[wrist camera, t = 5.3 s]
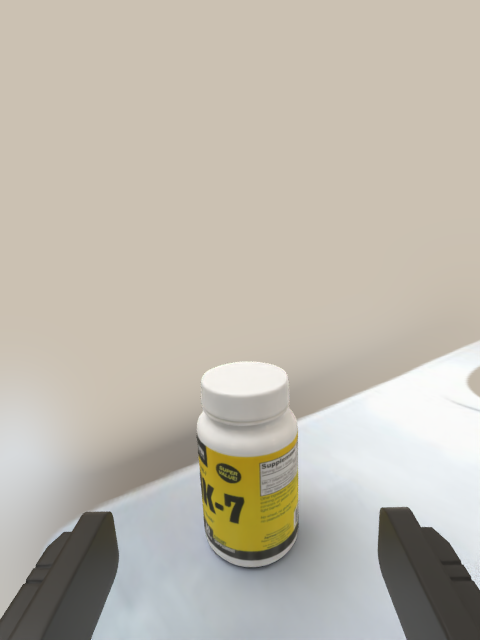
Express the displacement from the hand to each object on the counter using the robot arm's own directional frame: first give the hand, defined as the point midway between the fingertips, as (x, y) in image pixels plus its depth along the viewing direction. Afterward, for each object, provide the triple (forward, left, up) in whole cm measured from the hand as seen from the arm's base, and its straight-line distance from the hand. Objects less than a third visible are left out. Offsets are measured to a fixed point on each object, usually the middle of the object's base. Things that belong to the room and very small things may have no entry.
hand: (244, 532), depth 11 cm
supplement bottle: (+3, +5, -6) cm, 9 cm away
